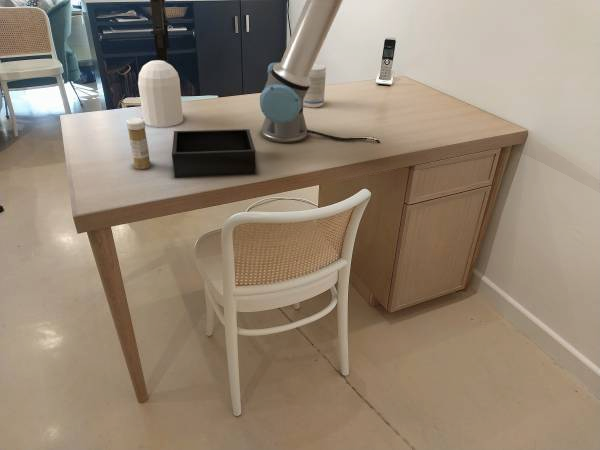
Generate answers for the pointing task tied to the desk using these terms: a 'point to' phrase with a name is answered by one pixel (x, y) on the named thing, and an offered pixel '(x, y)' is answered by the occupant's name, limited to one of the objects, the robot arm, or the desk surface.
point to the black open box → (213, 153)
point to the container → (160, 94)
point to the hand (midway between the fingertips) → (163, 54)
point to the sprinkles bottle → (138, 143)
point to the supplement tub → (316, 87)
